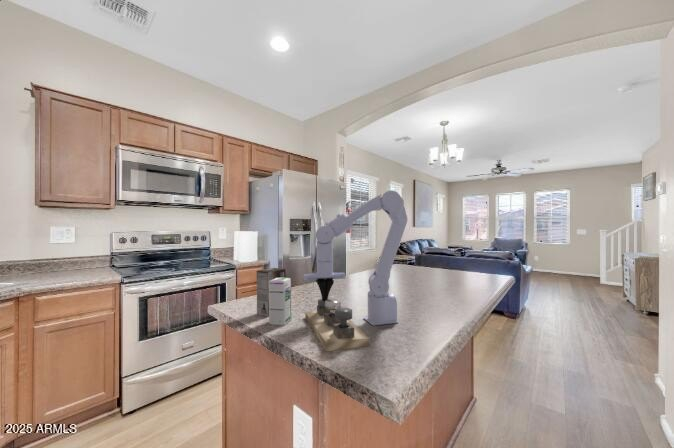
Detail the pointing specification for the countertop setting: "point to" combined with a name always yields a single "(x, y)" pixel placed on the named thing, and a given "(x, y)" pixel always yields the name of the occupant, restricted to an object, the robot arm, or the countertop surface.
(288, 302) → the syrup box
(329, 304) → the knob middle
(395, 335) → the countertop surface
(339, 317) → the knob
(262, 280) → the coffee box
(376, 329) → the countertop surface
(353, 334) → the mount board
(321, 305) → the knob
